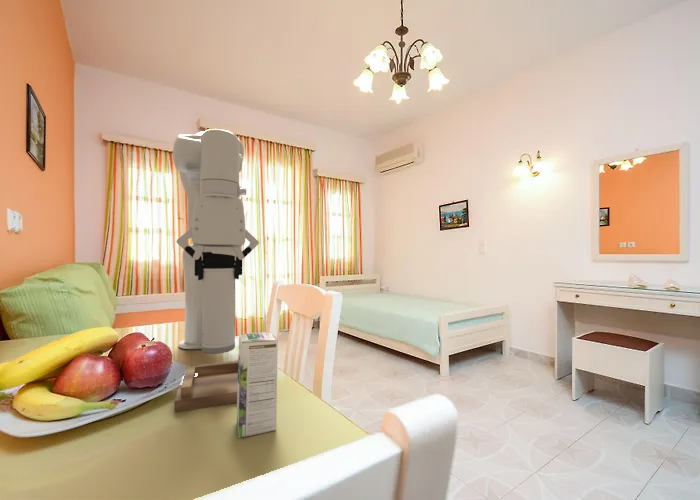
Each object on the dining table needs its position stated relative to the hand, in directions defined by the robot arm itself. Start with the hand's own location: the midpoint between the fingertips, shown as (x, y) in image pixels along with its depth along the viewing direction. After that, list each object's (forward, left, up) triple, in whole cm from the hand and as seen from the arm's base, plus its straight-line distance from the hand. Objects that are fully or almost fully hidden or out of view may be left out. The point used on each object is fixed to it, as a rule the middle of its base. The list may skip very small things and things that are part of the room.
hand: (218, 278), depth 67 cm
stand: (0, 0, -23) cm, 23 cm away
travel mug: (0, 0, -15) cm, 15 cm away
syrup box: (+17, +6, -23) cm, 29 cm away
